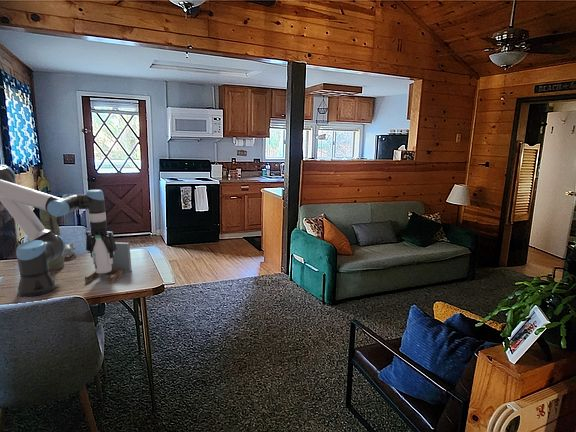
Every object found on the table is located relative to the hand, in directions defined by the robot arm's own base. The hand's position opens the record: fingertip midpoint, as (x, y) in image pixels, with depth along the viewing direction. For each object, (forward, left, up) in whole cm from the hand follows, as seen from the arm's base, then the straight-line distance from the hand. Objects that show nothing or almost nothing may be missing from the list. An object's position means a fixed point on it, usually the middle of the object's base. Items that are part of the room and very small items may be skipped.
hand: (103, 263), depth 196 cm
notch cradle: (0, 0, -8) cm, 8 cm away
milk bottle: (0, 0, -4) cm, 4 cm away
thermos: (+13, +37, -9) cm, 40 cm away
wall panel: (+11, 0, -8) cm, 14 cm away
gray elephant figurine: (+32, +43, -9) cm, 54 cm away
